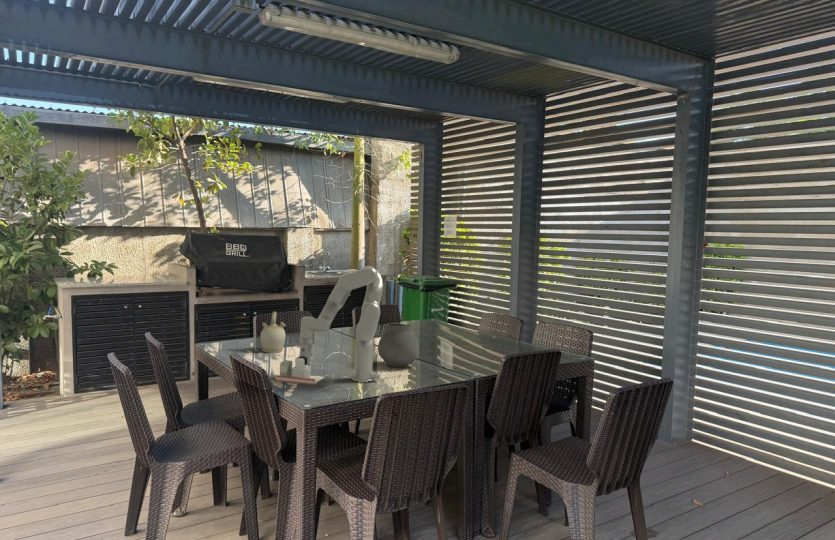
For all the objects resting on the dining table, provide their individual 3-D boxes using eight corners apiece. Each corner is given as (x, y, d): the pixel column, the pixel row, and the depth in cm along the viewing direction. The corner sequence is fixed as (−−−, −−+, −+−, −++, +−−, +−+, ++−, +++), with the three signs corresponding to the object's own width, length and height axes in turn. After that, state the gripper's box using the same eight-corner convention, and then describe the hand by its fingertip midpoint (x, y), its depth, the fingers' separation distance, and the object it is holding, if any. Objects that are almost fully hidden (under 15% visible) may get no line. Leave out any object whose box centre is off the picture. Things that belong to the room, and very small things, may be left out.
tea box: (291, 378, 297) (292, 360, 296) (286, 380, 291) (287, 363, 290) (284, 377, 298) (285, 360, 297) (279, 380, 292) (280, 362, 291)
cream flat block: (324, 377, 303) (324, 371, 303) (313, 385, 286) (313, 379, 286) (288, 373, 306) (289, 368, 306) (275, 381, 289) (275, 375, 289)
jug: (288, 349, 367) (289, 310, 365) (280, 354, 351) (281, 313, 350) (265, 347, 368) (266, 309, 366) (255, 352, 353) (257, 312, 351)
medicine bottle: (297, 377, 297) (298, 355, 295) (310, 379, 295) (310, 356, 293) (291, 381, 290) (291, 358, 288) (304, 383, 288) (304, 360, 286)
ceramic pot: (425, 365, 342) (428, 324, 341) (404, 373, 322) (406, 329, 320) (391, 359, 355) (393, 319, 353) (368, 365, 334) (371, 323, 332)
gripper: (308, 343, 289) (306, 379, 290) (319, 339, 304) (317, 373, 305) (294, 342, 291) (292, 378, 292) (305, 337, 305) (303, 371, 306)
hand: (305, 375), depth 298 cm, fingers closed
